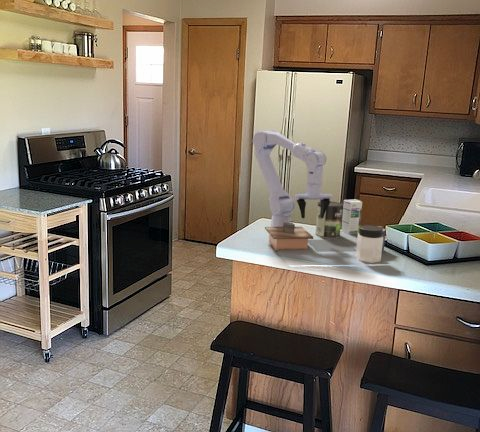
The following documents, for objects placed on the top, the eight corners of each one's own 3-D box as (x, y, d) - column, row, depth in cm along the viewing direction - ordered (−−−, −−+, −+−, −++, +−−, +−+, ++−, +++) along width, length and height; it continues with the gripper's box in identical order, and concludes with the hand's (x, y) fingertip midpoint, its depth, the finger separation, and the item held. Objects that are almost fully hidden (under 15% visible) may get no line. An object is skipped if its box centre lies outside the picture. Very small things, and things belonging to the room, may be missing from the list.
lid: (264, 228, 199) (265, 218, 199) (301, 228, 202) (302, 218, 201) (273, 239, 185) (274, 228, 184) (313, 238, 188) (314, 228, 187)
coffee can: (343, 236, 213) (346, 203, 210) (334, 241, 205) (337, 207, 202) (320, 231, 219) (323, 199, 215) (311, 236, 210) (313, 203, 207)
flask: (378, 250, 195) (382, 223, 192) (386, 252, 193) (389, 224, 191) (367, 255, 188) (370, 227, 186) (374, 256, 186) (377, 228, 184)
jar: (367, 265, 176) (371, 232, 173) (350, 258, 183) (354, 226, 180) (385, 261, 181) (389, 229, 178) (368, 255, 187) (371, 224, 185)
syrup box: (348, 235, 215) (351, 201, 212) (340, 231, 220) (343, 199, 217) (359, 234, 217) (363, 201, 214) (351, 231, 222) (355, 198, 219)
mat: (304, 241, 203) (304, 239, 203) (342, 240, 206) (342, 239, 206) (317, 253, 188) (317, 251, 187) (358, 252, 190) (358, 251, 190)
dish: (268, 241, 199) (269, 229, 198) (298, 241, 201) (299, 229, 200) (276, 250, 188) (276, 238, 187) (307, 250, 190) (308, 237, 189)
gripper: (299, 184, 190) (297, 220, 192) (336, 184, 192) (333, 219, 195) (294, 182, 196) (292, 216, 199) (329, 182, 199) (327, 215, 202)
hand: (312, 217), depth 198 cm, fingers open, 7 cm apart
